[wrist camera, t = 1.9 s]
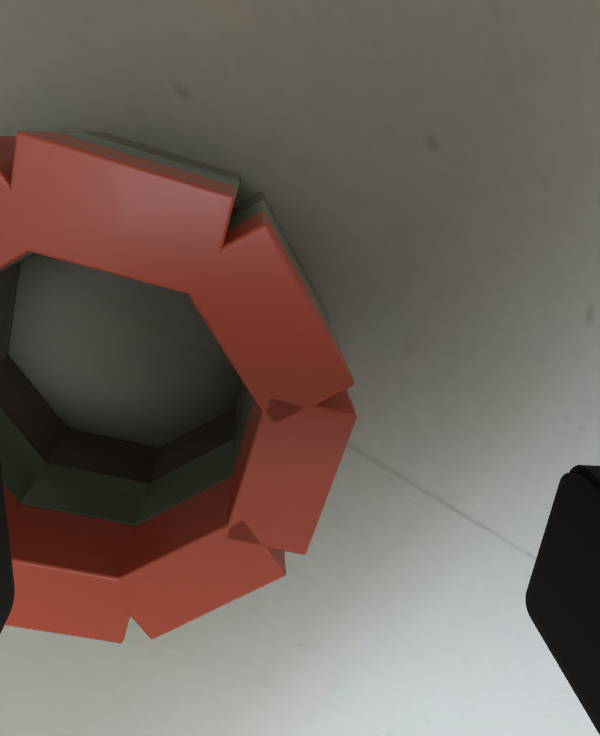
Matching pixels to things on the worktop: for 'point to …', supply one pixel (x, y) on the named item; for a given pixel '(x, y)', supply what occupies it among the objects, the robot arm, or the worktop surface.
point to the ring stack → (108, 456)
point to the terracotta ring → (245, 352)
